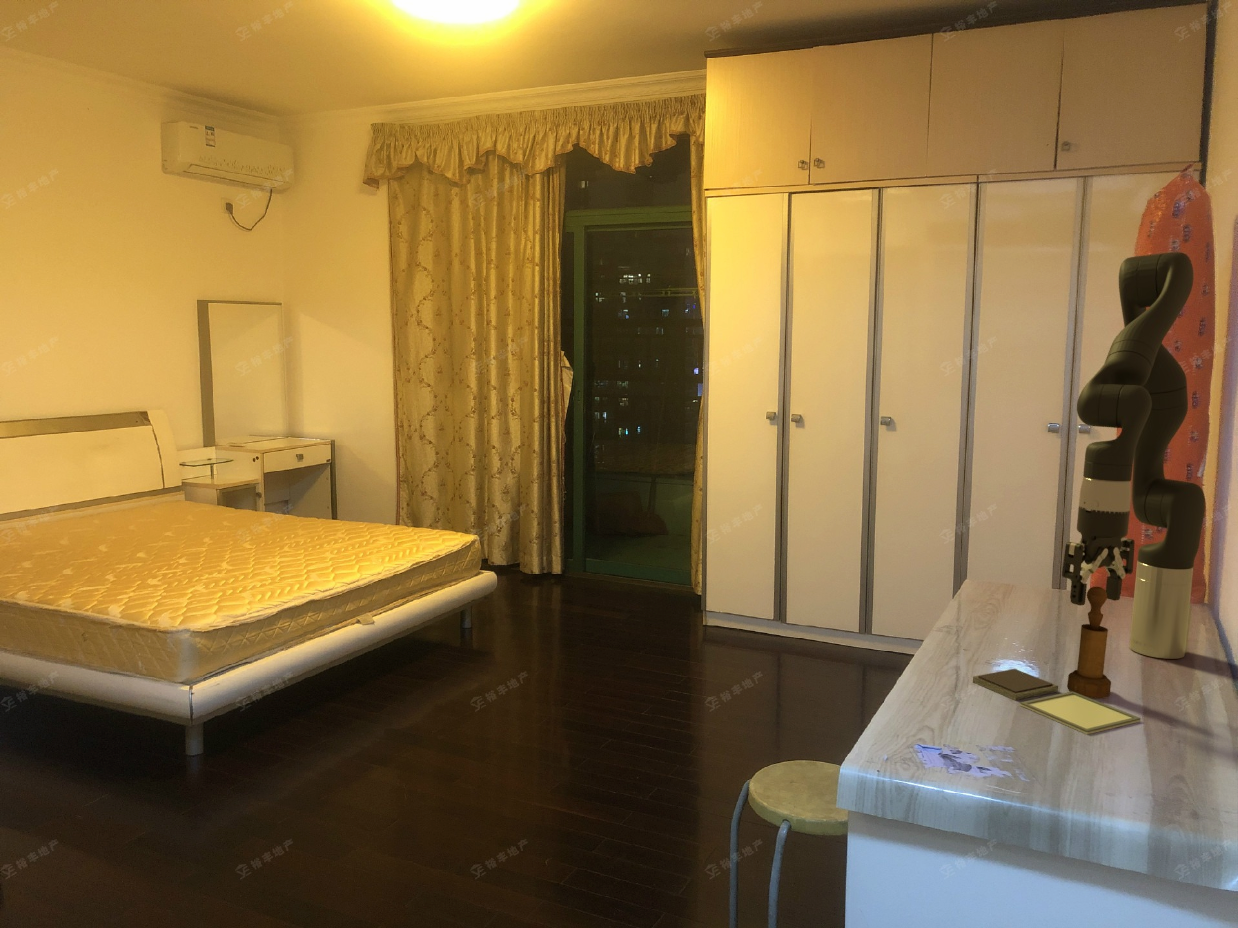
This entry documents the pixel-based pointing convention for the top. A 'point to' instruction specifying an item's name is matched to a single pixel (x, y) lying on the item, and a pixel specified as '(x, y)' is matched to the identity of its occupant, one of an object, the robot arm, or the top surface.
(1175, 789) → the top surface
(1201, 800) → the top surface
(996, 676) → the ink pad
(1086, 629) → the brown wooden stamp
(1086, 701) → the print card
